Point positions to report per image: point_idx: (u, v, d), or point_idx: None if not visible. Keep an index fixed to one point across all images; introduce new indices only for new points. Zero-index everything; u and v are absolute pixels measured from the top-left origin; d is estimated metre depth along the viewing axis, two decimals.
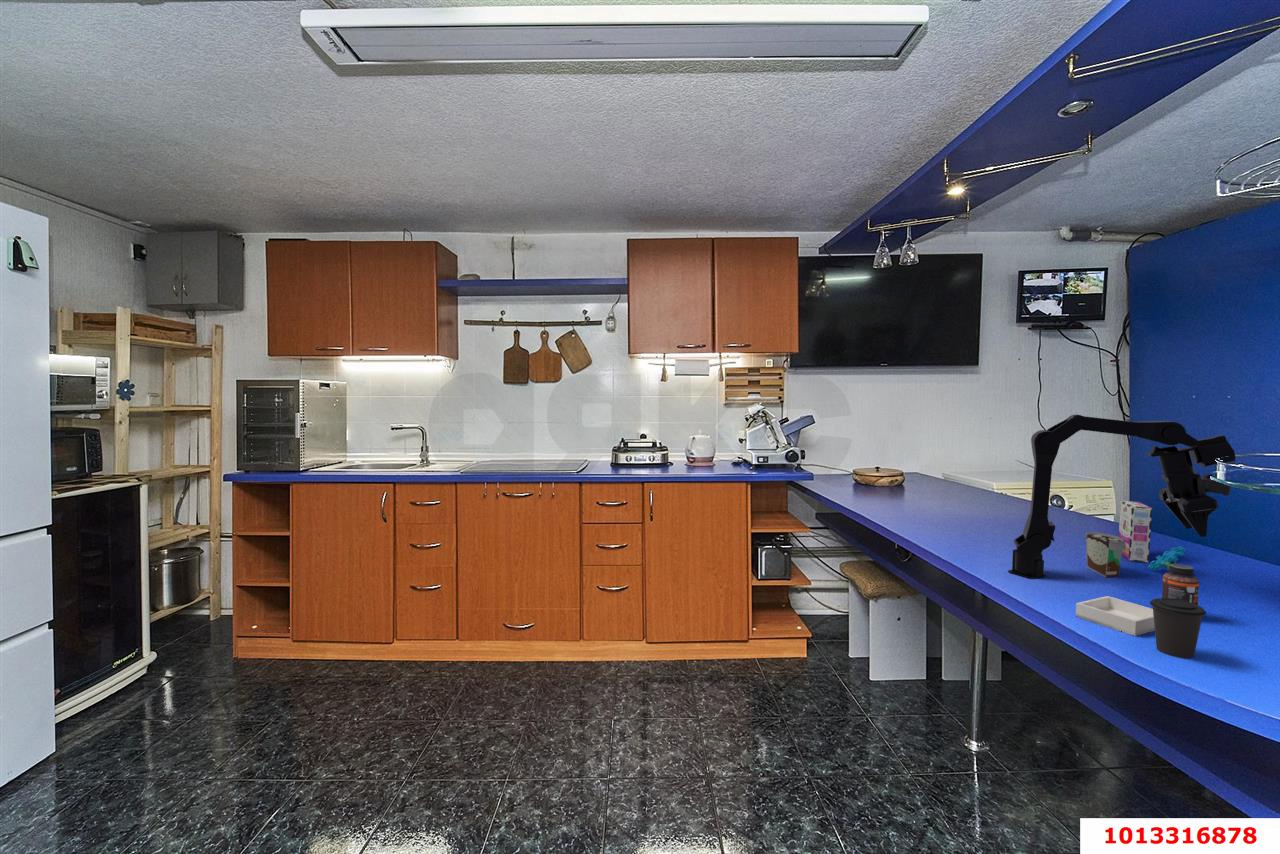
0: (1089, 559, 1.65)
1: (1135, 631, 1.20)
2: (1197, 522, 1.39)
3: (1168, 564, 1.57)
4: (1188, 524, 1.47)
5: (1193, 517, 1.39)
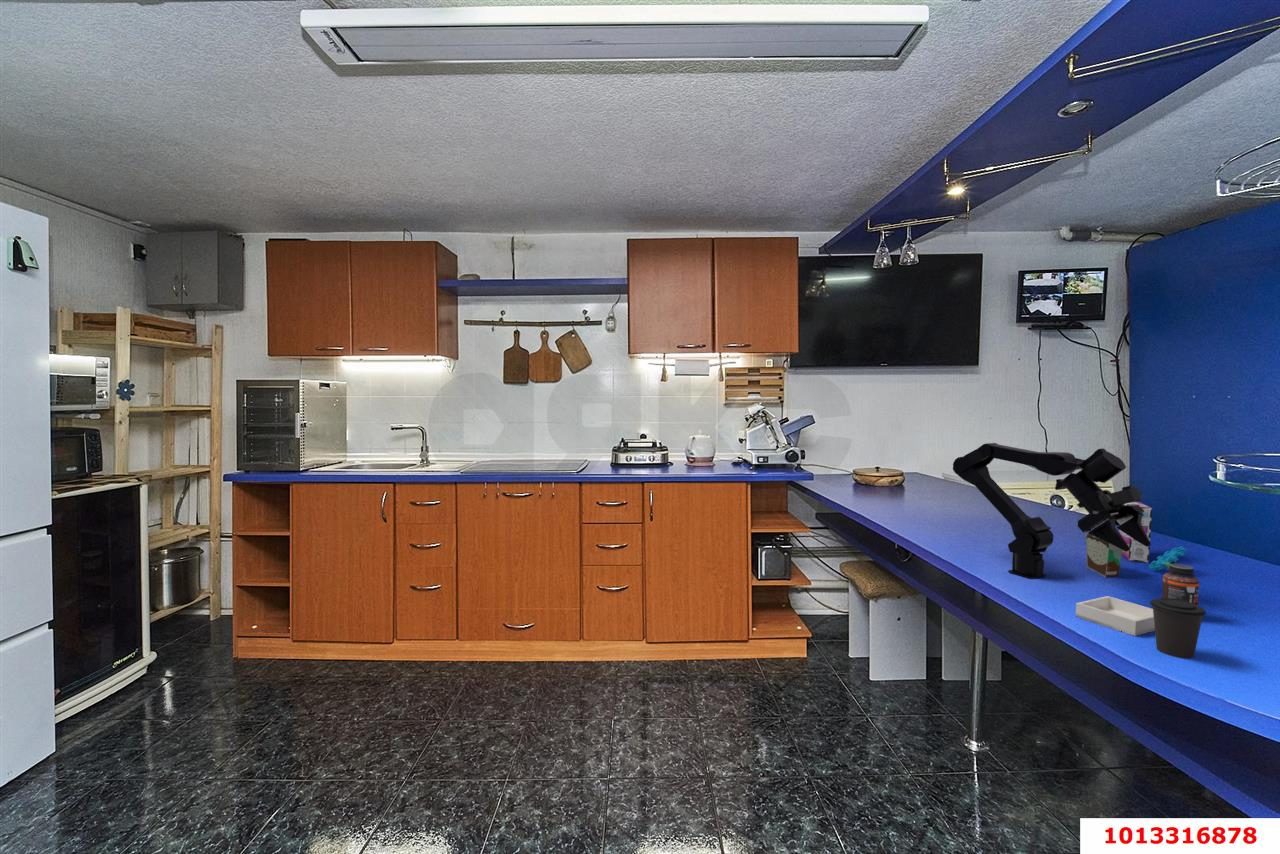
0: (1089, 559, 1.65)
1: (1135, 631, 1.20)
2: (1110, 538, 1.37)
3: (1168, 564, 1.57)
4: (1145, 541, 1.40)
5: (1103, 534, 1.38)
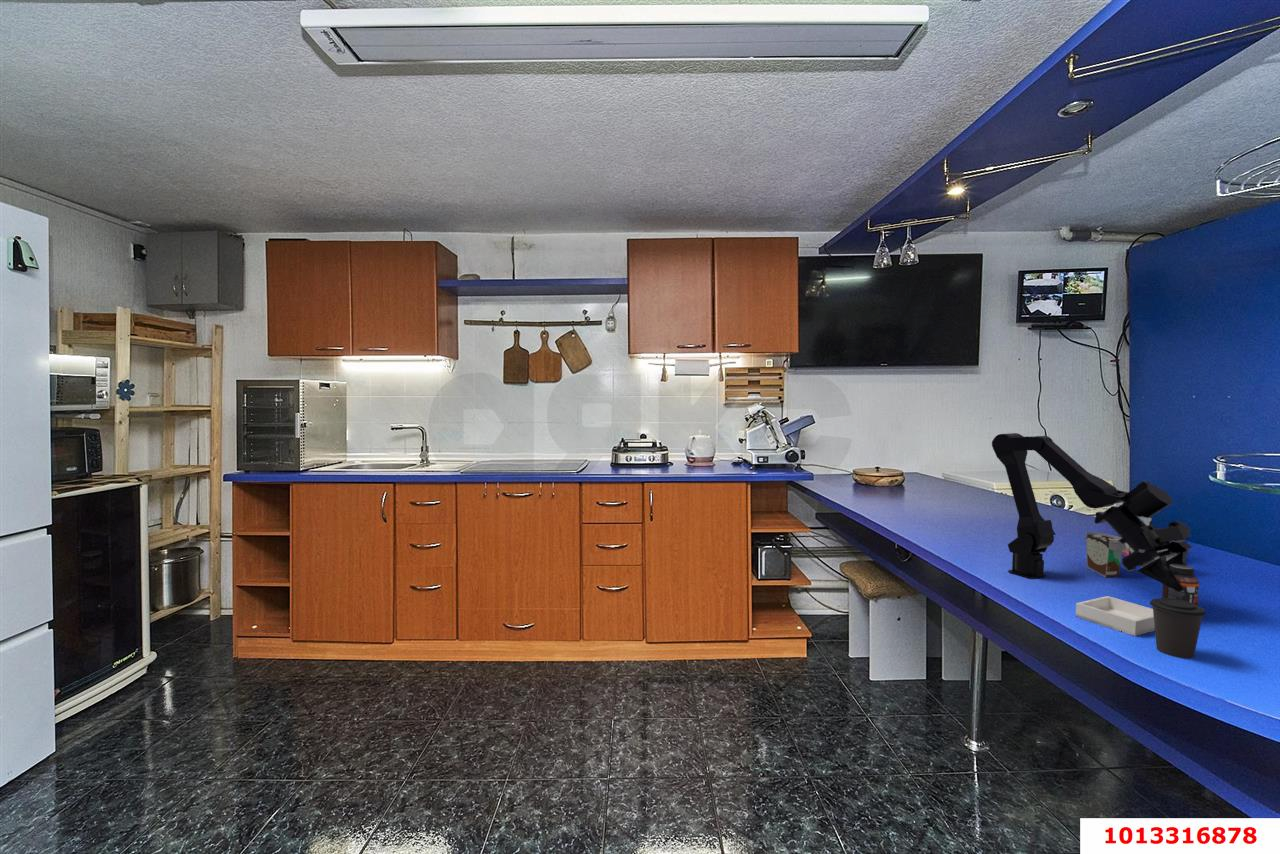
0: (1089, 559, 1.65)
1: (1135, 631, 1.20)
2: (1161, 577, 1.30)
3: None
4: None
5: (1153, 573, 1.31)
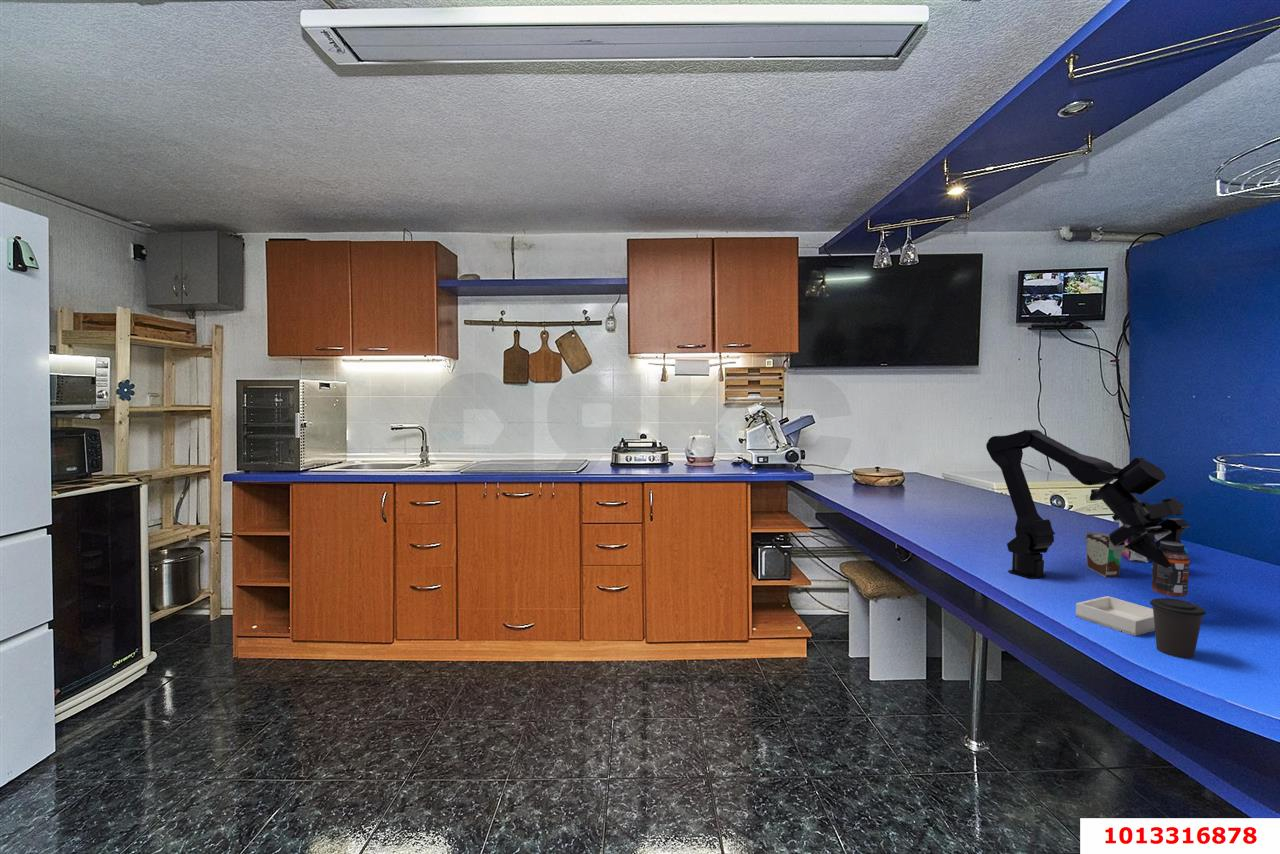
0: (1089, 559, 1.65)
1: (1135, 631, 1.20)
2: (1149, 553, 1.29)
3: None
4: None
5: (1141, 549, 1.30)
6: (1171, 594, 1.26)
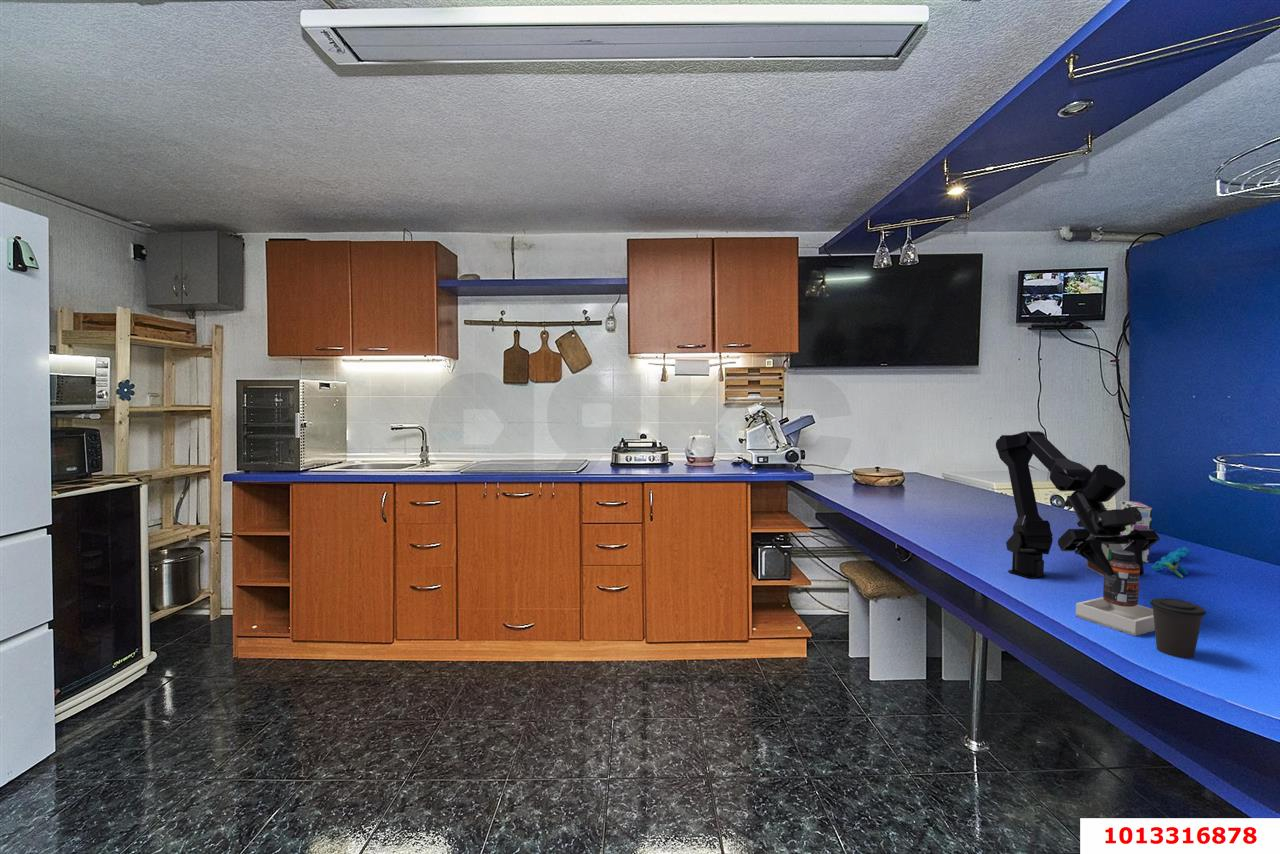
0: None
1: (1135, 631, 1.20)
2: (1095, 560, 1.29)
3: (1169, 564, 1.57)
4: None
5: (1090, 555, 1.30)
6: (1115, 602, 1.26)
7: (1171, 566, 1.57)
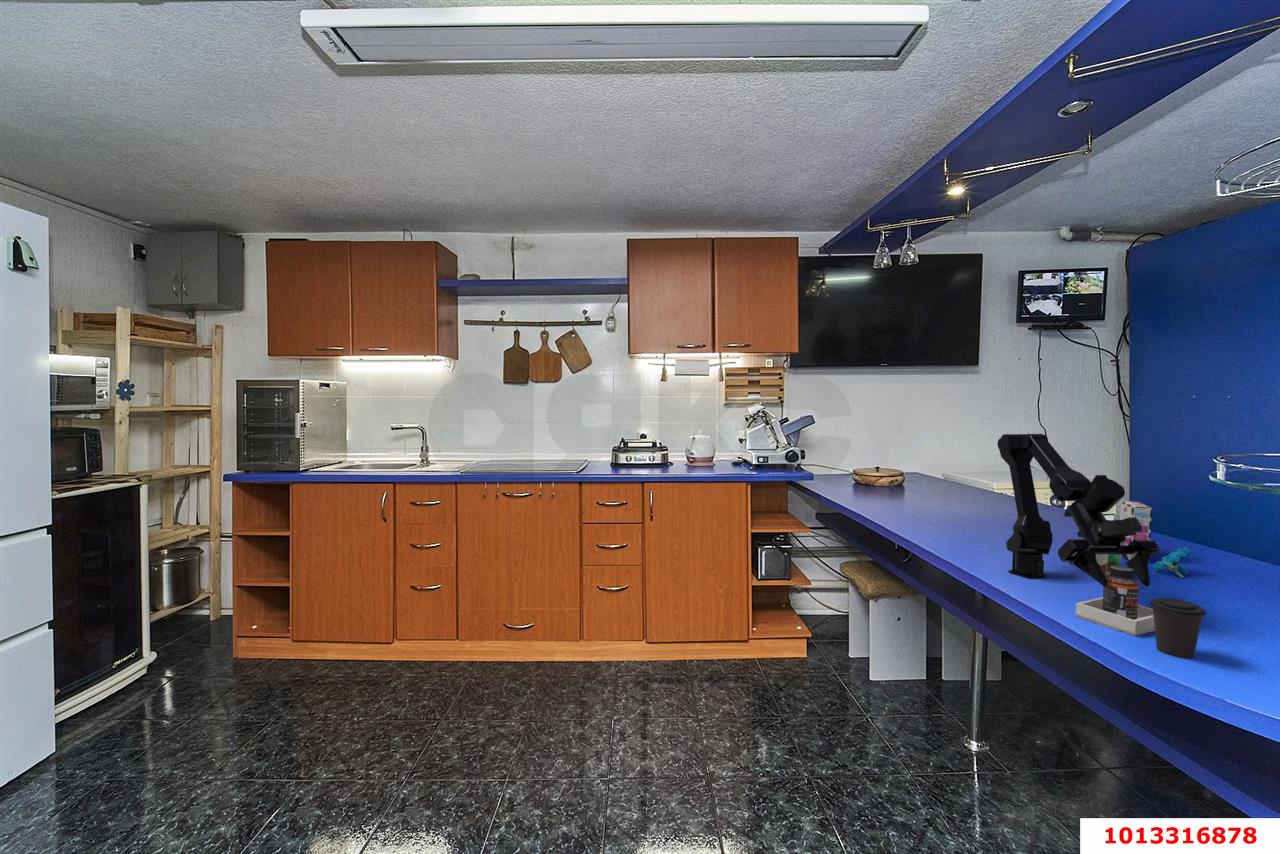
0: None
1: (1135, 631, 1.20)
2: (1090, 570, 1.29)
3: (1169, 564, 1.57)
4: (1144, 581, 1.26)
5: (1084, 566, 1.30)
6: None
7: (1171, 566, 1.56)
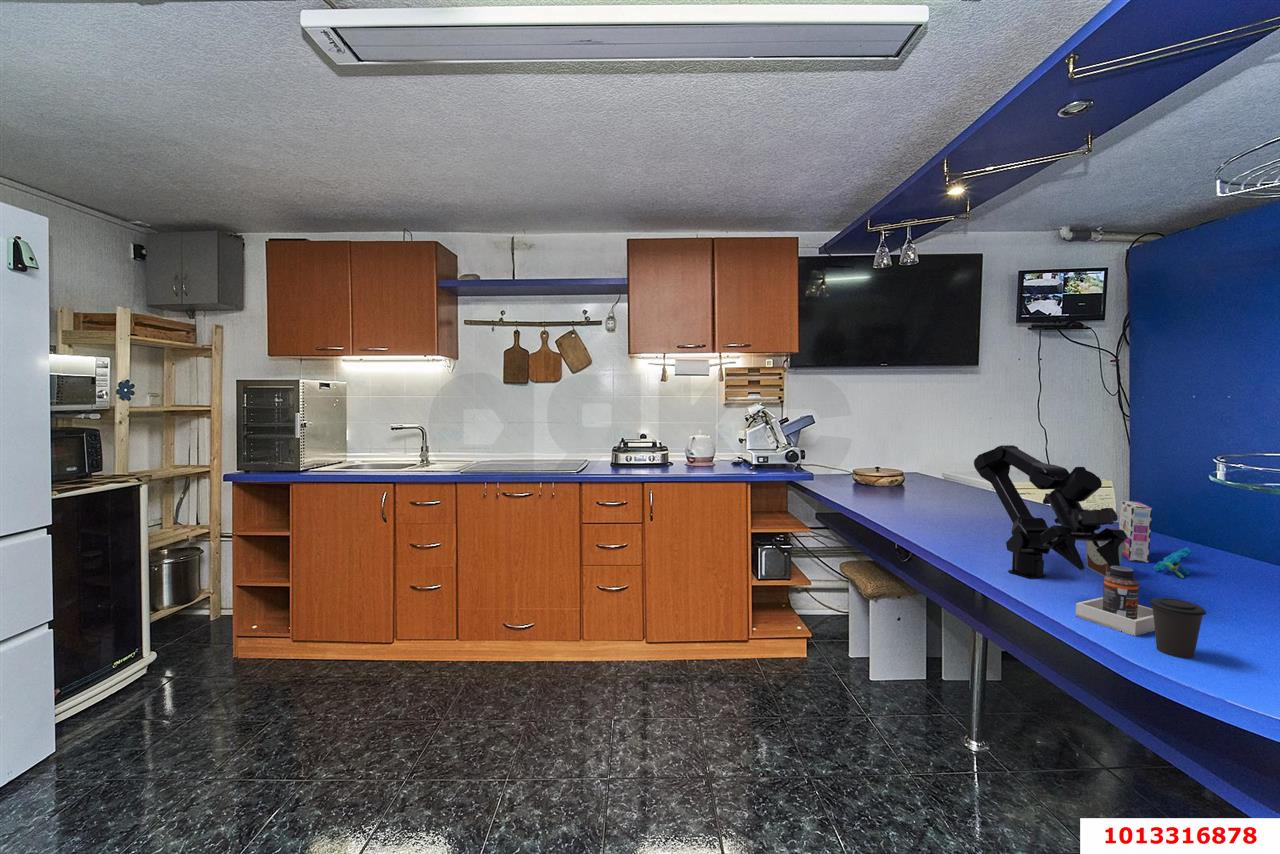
0: (1089, 559, 1.65)
1: (1135, 631, 1.20)
2: (1068, 555, 1.37)
3: (1169, 564, 1.57)
4: None
5: (1063, 550, 1.39)
6: None
7: (1171, 566, 1.56)
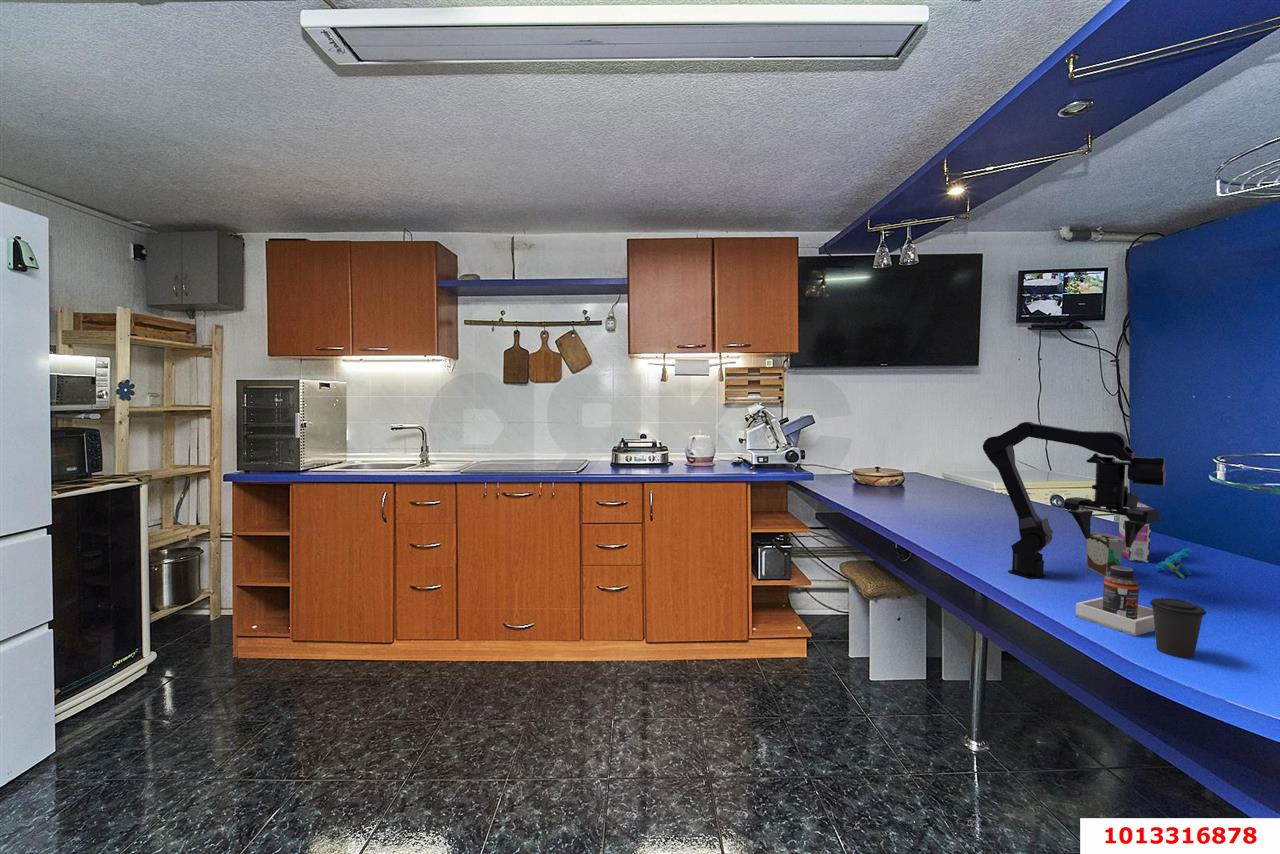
0: (1089, 559, 1.65)
1: (1135, 631, 1.20)
2: (1133, 533, 1.41)
3: (1170, 564, 1.57)
4: (1088, 534, 1.51)
5: None
6: None
7: (1172, 566, 1.56)
